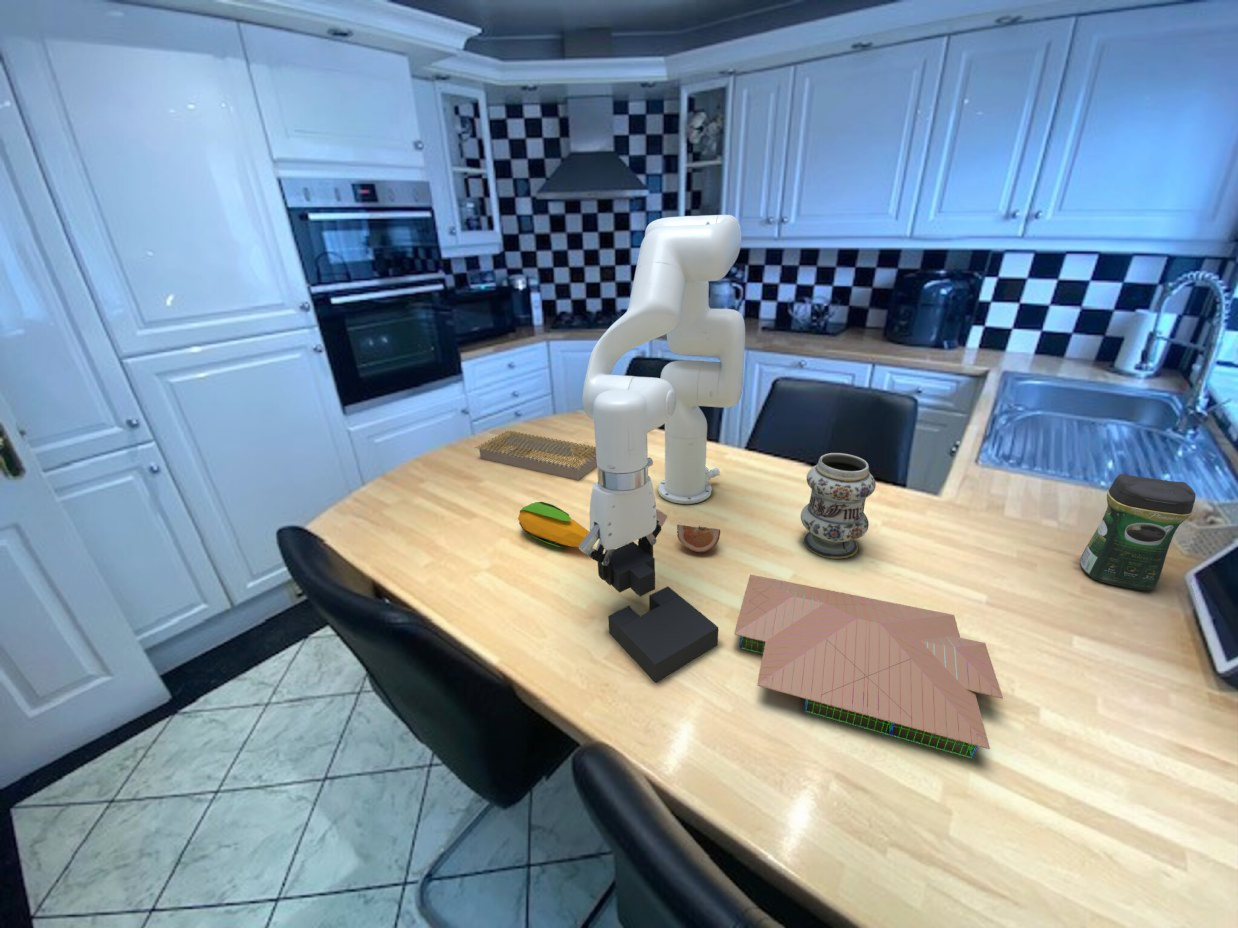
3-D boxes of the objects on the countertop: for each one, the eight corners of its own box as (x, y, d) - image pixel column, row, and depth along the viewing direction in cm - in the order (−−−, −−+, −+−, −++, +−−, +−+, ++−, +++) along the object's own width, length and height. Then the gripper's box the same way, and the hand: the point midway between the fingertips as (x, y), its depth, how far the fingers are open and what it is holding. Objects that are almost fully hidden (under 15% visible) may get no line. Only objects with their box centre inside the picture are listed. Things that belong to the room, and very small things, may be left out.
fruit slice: (673, 553, 99) (673, 532, 97) (680, 535, 105) (680, 514, 102) (716, 560, 96) (717, 538, 94) (721, 540, 102) (722, 519, 100)
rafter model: (476, 458, 144) (472, 439, 141) (509, 440, 155) (506, 422, 152) (579, 482, 128) (577, 460, 125) (608, 460, 139) (606, 439, 137)
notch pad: (667, 602, 86) (667, 585, 85) (717, 644, 77) (718, 627, 76) (609, 632, 80) (607, 615, 79) (655, 682, 71) (655, 664, 70)
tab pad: (633, 558, 87) (632, 541, 85) (665, 584, 80) (665, 566, 79) (599, 573, 83) (597, 556, 82) (629, 602, 77) (628, 583, 75)
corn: (531, 489, 109) (605, 514, 98) (537, 518, 113) (609, 545, 102) (506, 506, 104) (582, 534, 93) (513, 536, 107) (586, 566, 97)
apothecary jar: (864, 534, 102) (880, 453, 94) (862, 568, 92) (880, 481, 84) (801, 523, 107) (811, 444, 99) (793, 554, 97) (804, 470, 89)
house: (1011, 775, 58) (1033, 726, 54) (721, 692, 69) (724, 648, 66) (970, 635, 77) (984, 593, 73) (748, 589, 88) (752, 550, 85)
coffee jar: (1143, 570, 89) (1190, 475, 81) (1159, 597, 82) (1212, 497, 74) (1073, 556, 93) (1110, 465, 85) (1083, 580, 87) (1125, 485, 79)
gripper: (653, 451, 82) (654, 542, 90) (558, 481, 73) (568, 580, 81) (684, 466, 76) (682, 563, 84) (585, 501, 68) (593, 605, 75)
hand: (626, 570), depth 82 cm, fingers closed on tab pad, 7 cm apart
